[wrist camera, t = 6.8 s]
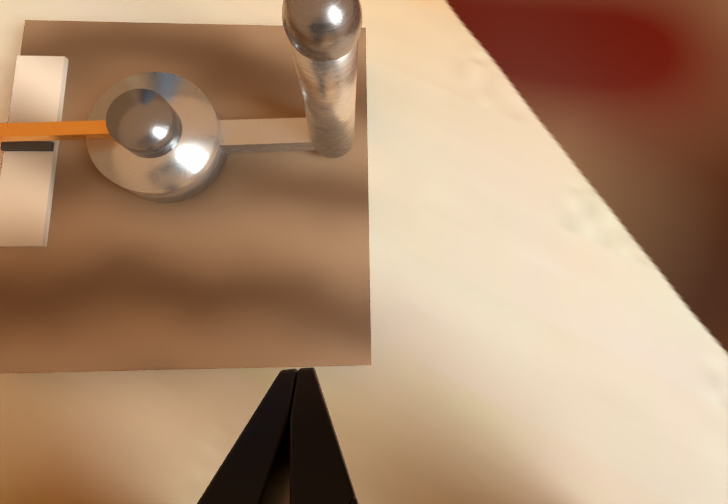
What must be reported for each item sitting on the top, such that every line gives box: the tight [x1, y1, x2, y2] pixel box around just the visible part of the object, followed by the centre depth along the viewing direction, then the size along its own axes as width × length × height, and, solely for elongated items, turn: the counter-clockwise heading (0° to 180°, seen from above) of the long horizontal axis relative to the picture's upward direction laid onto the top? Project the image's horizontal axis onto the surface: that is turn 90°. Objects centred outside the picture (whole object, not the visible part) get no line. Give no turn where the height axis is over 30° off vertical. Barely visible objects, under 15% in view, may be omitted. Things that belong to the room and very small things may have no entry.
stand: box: [0, 20, 371, 373], centre depth 22 cm, size 20×20×2 cm
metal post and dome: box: [0, 0, 362, 203], centre depth 16 cm, size 6×18×10 cm, turn 93°
